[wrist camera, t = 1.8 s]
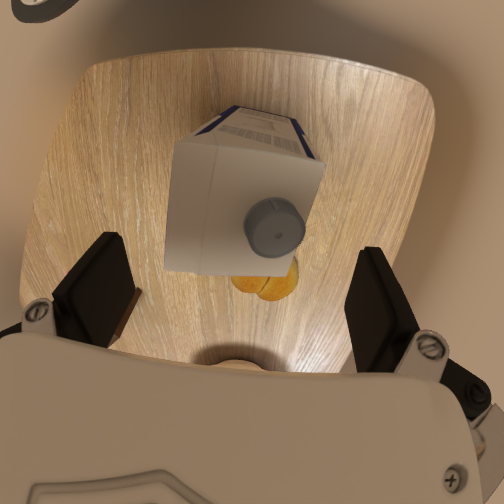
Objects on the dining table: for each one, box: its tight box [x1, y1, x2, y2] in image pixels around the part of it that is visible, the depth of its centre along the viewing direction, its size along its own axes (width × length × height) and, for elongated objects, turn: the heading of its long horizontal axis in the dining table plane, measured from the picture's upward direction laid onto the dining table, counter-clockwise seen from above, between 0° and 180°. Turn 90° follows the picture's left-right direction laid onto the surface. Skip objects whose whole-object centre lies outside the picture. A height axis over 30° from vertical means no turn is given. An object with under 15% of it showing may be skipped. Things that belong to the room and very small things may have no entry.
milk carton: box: [164, 105, 326, 277], centre depth 21 cm, size 7×7×20 cm
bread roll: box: [231, 257, 299, 301], centre depth 37 cm, size 8×9×4 cm
